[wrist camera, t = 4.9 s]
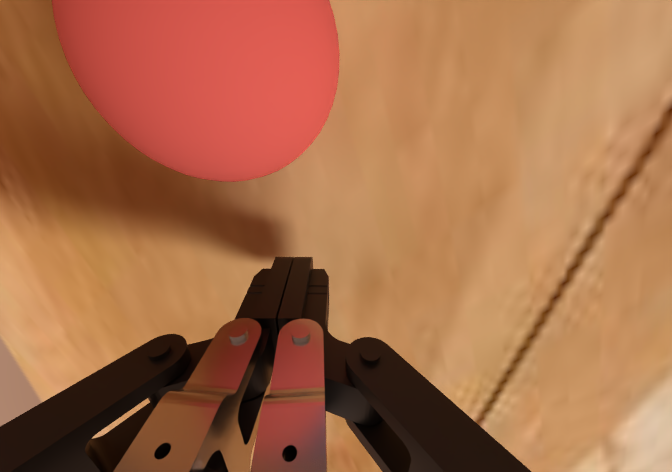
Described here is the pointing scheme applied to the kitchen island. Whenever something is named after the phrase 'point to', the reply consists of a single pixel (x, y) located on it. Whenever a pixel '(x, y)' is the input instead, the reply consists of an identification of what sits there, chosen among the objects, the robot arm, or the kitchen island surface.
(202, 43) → the ball
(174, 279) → the kitchen island surface
